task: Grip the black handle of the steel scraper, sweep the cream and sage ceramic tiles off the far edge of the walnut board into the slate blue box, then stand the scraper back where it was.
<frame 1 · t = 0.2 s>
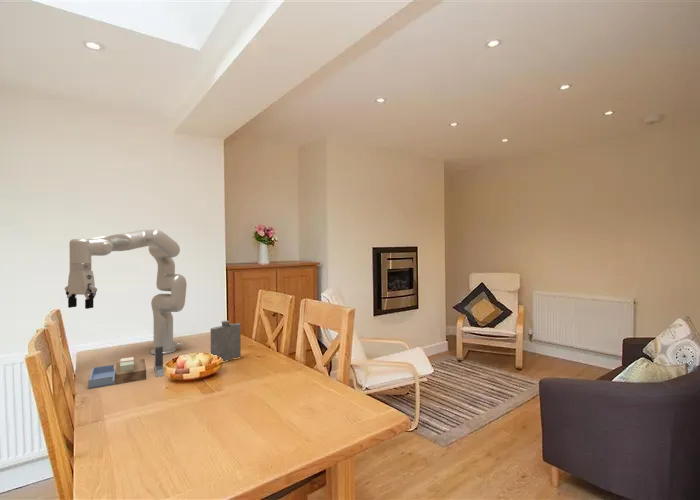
hand: (80, 307, 154), 31 cm above the table, tool pointing down, fingers open, 9 cm apart
slate blue box: (103, 379, 154), on the table
sage tile: (127, 369, 156), point 4 cm above the table, touching walnut board
walnut board: (131, 375, 159), on the table
cream tile: (127, 364, 162), point 4 cm above the table, touching walnut board
scraper: (159, 371, 165), on the table
hip flask: (225, 361, 180), on the table
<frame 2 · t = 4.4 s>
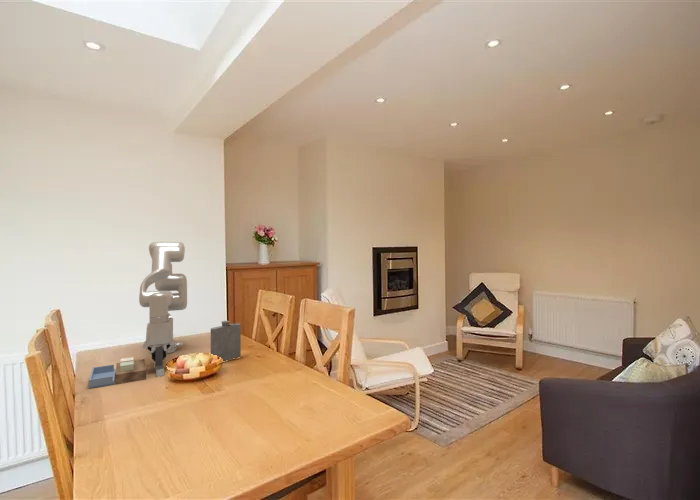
hand: (158, 359, 165), 5 cm above the table, tool pointing down, fingers closed on scraper, 3 cm apart
scraper: (158, 371, 165), on the table, touching gripper
everything else where it was.
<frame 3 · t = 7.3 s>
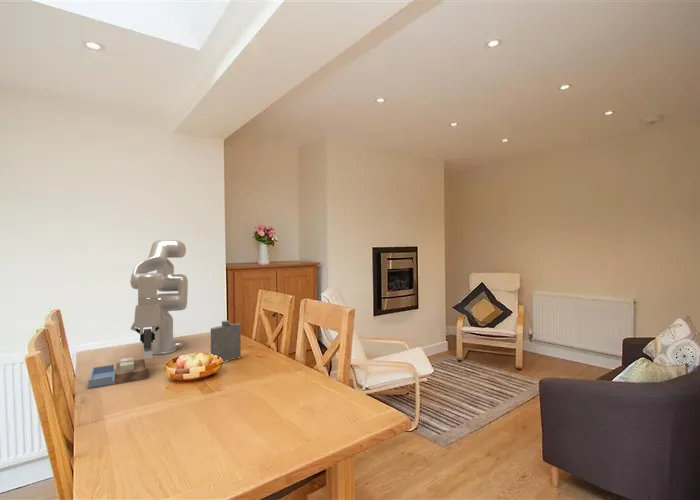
hand: (147, 341, 162), 14 cm above the table, tool pointing down, fingers closed on scraper, 3 cm apart
scraper: (147, 353, 162), point 9 cm above the table, touching gripper
everything else where it was.
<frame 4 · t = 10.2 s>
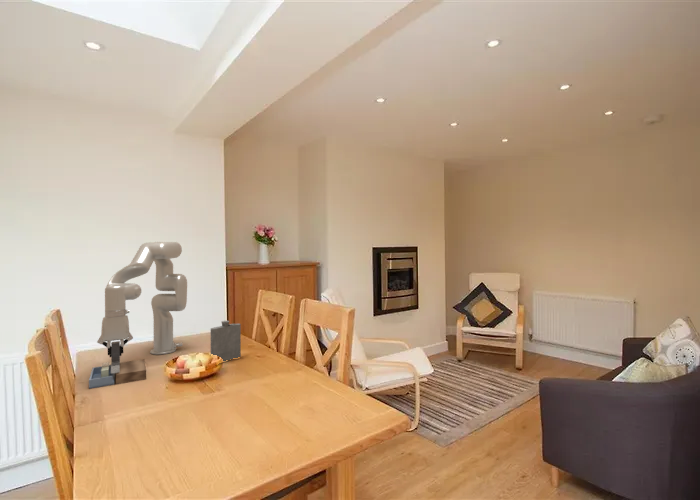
hand: (115, 355, 156), 10 cm above the table, tool pointing down, fingers closed on scraper, 3 cm apart
sage tile: (108, 374, 152), point 3 cm above the table, tilted 90°, touching slate blue box
cream tile: (109, 369, 158), point 3 cm above the table, tilted 88°, touching slate blue box
scraper: (115, 367, 156), point 4 cm above the table, touching gripper
everything else where it was.
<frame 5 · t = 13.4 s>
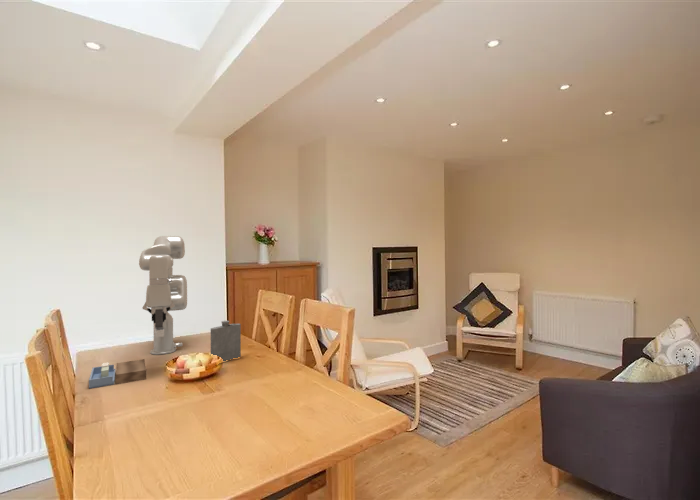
hand: (158, 321, 165), 23 cm above the table, tool pointing down, fingers closed on scraper, 3 cm apart
scraper: (158, 333, 165), point 17 cm above the table, touching gripper
everything else where it was.
when the fingers open (6 cm above the table, at t = 16.1 s): scraper drops 1 cm, on the table.
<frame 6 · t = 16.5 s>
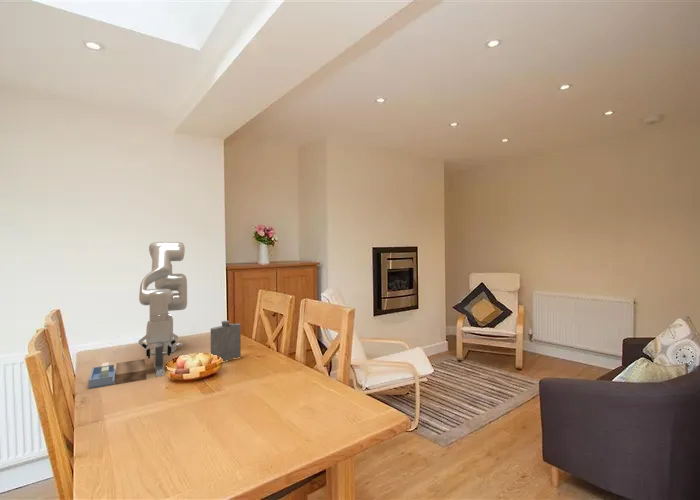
hand: (158, 356, 165), 7 cm above the table, tool pointing down, fingers open, 7 cm apart
scraper: (159, 371, 165), on the table
everything else where it was.
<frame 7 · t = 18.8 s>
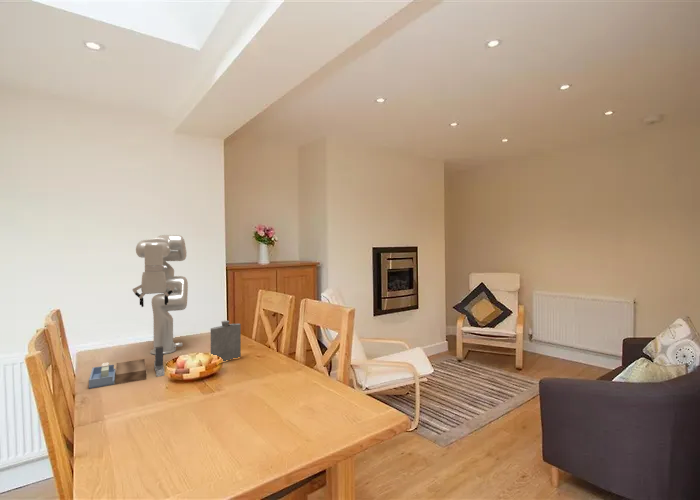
hand: (154, 305, 168), 30 cm above the table, tool pointing down, fingers open, 9 cm apart
nothing on the table moved.
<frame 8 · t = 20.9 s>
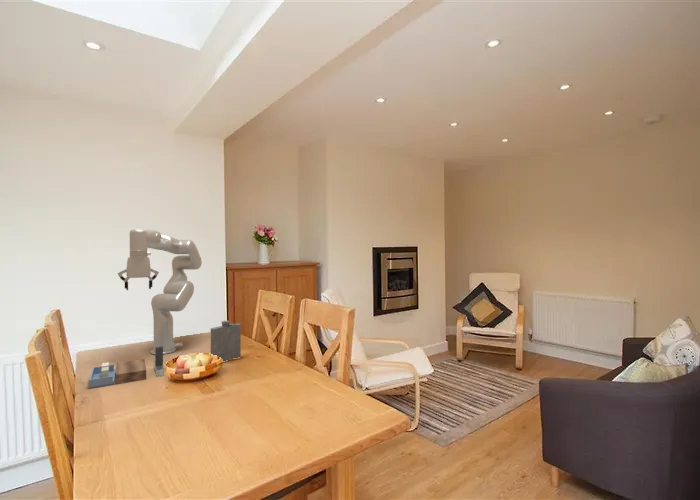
hand: (138, 289, 176), 36 cm above the table, tool pointing down, fingers open, 9 cm apart
nothing on the table moved.
at the end: cream tile inside the target area (4.1 cm from its centre), point 3.1 cm above the table; sage tile inside the target area (4.1 cm from its centre), point 3.1 cm above the table; scraper tilted 0° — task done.
